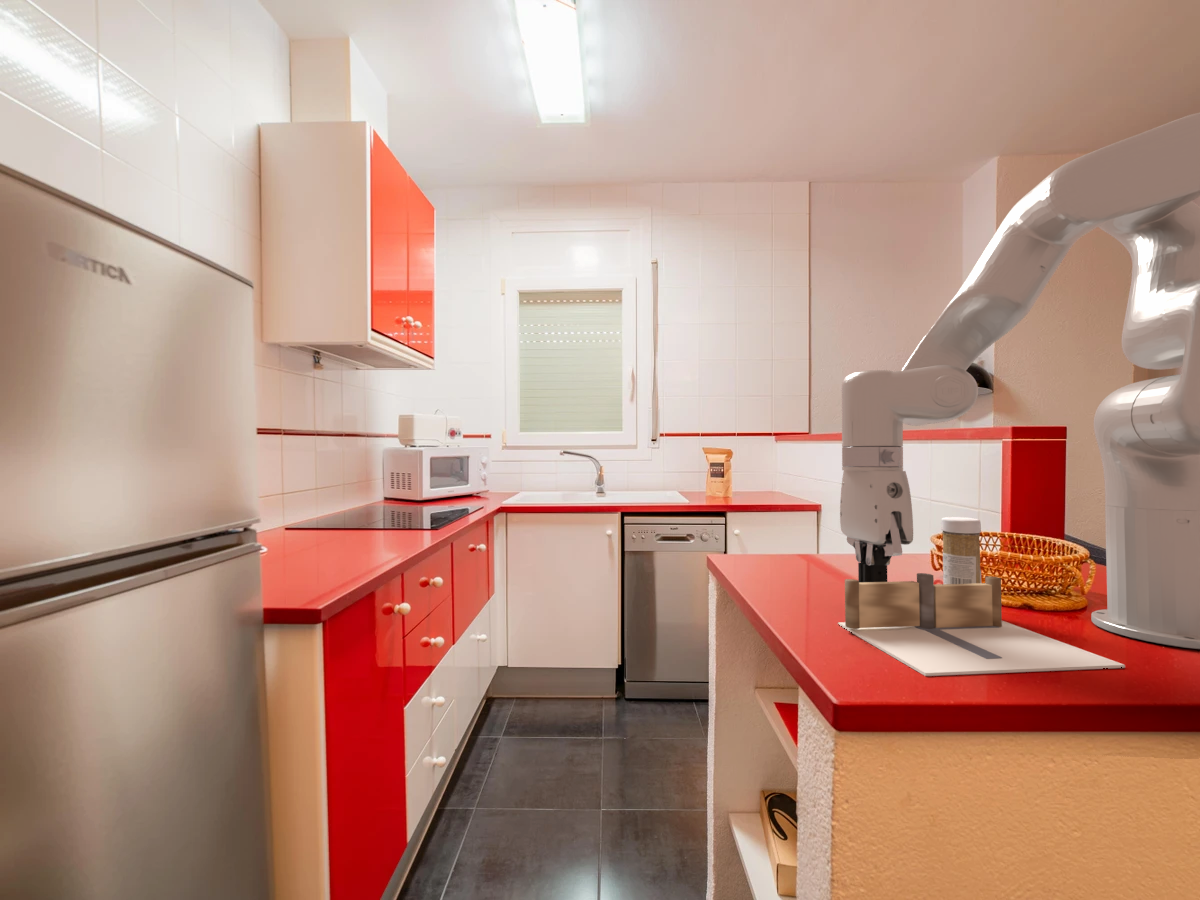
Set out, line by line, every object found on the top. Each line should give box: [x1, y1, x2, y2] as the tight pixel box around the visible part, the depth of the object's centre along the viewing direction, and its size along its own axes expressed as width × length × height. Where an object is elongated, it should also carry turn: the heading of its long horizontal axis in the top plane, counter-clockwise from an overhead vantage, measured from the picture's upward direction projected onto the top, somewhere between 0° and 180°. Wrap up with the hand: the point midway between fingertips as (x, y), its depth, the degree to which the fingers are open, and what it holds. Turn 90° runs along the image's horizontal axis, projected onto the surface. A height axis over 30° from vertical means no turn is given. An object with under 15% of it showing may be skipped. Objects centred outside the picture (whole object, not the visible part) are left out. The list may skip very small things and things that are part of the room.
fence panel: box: [844, 578, 920, 629], centre depth 64 cm, size 9×2×6 cm, turn 95°
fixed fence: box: [916, 572, 1003, 629], centre depth 65 cm, size 11×2×7 cm, turn 95°
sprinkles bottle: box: [940, 516, 982, 584], centre depth 72 cm, size 5×5×13 cm
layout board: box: [837, 620, 1126, 677], centre depth 60 cm, size 22×16×1 cm
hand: (872, 592), depth 71 cm, fingers closed
